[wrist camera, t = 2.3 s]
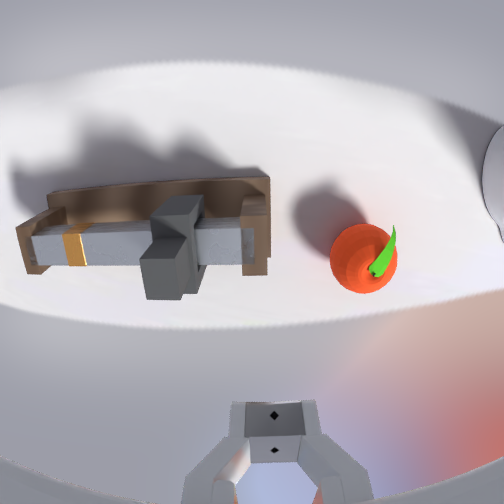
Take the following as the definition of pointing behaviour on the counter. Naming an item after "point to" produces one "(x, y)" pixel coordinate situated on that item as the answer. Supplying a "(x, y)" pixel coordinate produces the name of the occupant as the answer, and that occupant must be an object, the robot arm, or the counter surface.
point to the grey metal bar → (136, 243)
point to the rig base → (150, 199)
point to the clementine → (364, 258)
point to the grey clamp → (173, 250)
